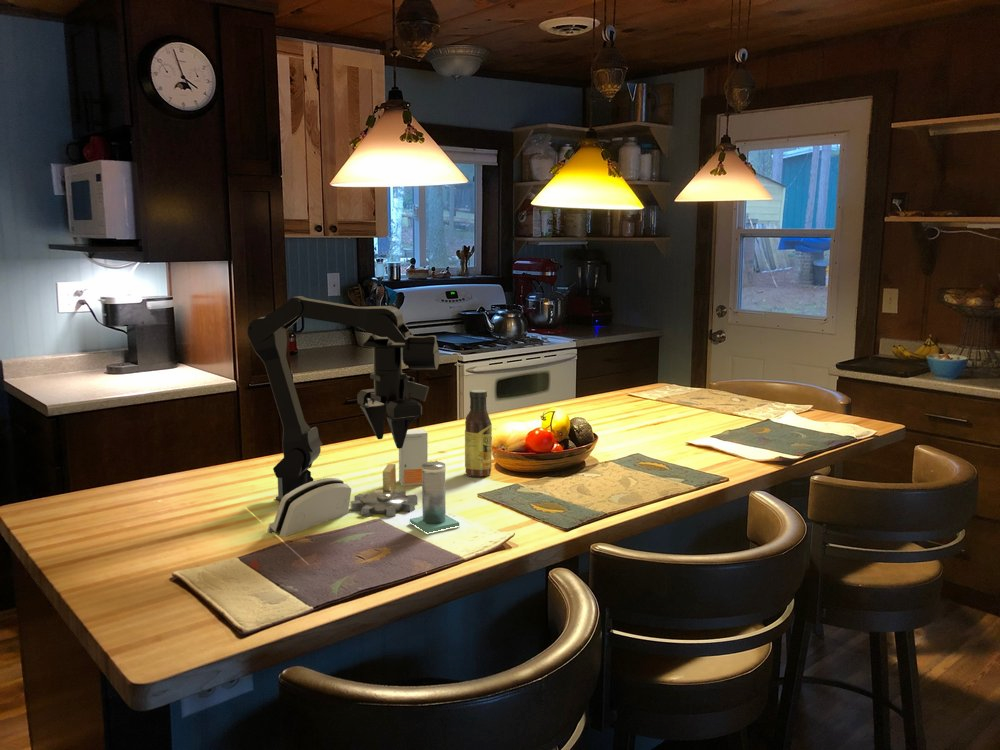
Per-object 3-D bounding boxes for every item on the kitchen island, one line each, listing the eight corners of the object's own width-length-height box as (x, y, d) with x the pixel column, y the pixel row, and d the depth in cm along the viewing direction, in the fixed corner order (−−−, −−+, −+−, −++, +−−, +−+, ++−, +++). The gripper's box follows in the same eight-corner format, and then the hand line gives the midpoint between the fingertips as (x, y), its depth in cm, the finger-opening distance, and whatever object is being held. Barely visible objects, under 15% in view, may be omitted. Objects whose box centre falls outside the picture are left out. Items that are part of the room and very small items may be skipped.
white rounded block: (331, 509, 173) (341, 467, 169) (346, 521, 170) (357, 478, 167) (265, 532, 159) (275, 487, 156) (281, 545, 157) (291, 500, 153)
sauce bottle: (488, 478, 194) (488, 394, 191) (462, 477, 195) (461, 393, 192) (494, 471, 200) (494, 388, 197) (468, 469, 202) (468, 388, 198)
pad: (427, 535, 158) (426, 528, 157) (409, 524, 163) (409, 518, 163) (459, 528, 161) (459, 521, 161) (441, 518, 167) (441, 511, 167)
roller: (424, 524, 159) (423, 468, 157) (420, 517, 164) (420, 462, 162) (447, 522, 160) (447, 467, 159) (443, 515, 165) (443, 460, 163)
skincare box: (401, 486, 188) (400, 434, 186) (398, 481, 192) (397, 430, 190) (428, 484, 190) (427, 432, 188) (425, 479, 194) (424, 428, 192)
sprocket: (410, 517, 167) (410, 485, 166) (344, 516, 168) (343, 484, 167) (422, 493, 182) (422, 464, 181) (362, 492, 183) (361, 463, 182)
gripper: (445, 371, 168) (446, 447, 170) (402, 359, 183) (404, 429, 186) (394, 376, 162) (396, 455, 164) (355, 364, 177) (357, 436, 180)
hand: (389, 443), depth 174 cm, fingers open, 9 cm apart
